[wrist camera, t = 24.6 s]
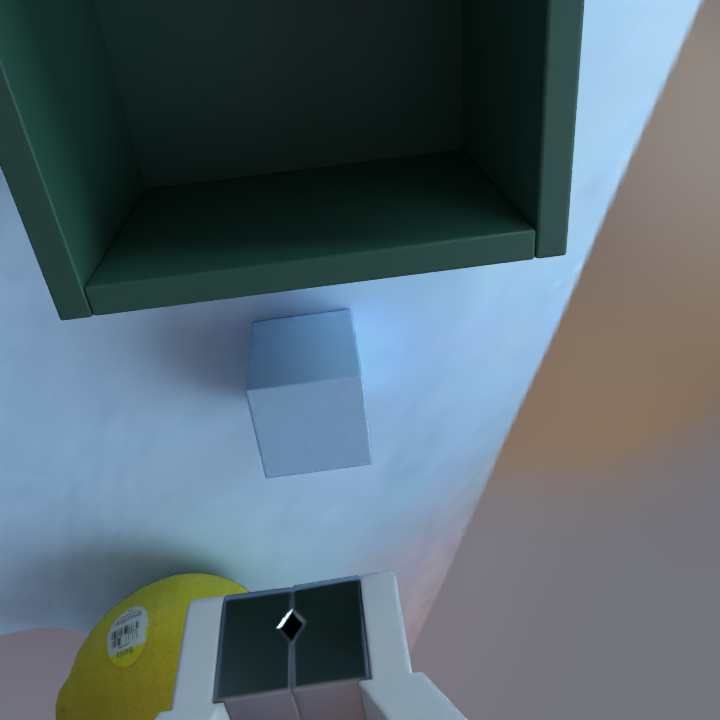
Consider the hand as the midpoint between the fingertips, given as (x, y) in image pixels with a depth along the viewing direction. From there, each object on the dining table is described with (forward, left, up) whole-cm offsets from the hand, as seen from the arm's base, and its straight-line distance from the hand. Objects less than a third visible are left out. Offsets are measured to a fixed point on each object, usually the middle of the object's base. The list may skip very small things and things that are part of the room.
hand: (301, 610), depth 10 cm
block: (-4, -4, -17) cm, 18 cm away
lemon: (-20, -7, -17) cm, 28 cm away
